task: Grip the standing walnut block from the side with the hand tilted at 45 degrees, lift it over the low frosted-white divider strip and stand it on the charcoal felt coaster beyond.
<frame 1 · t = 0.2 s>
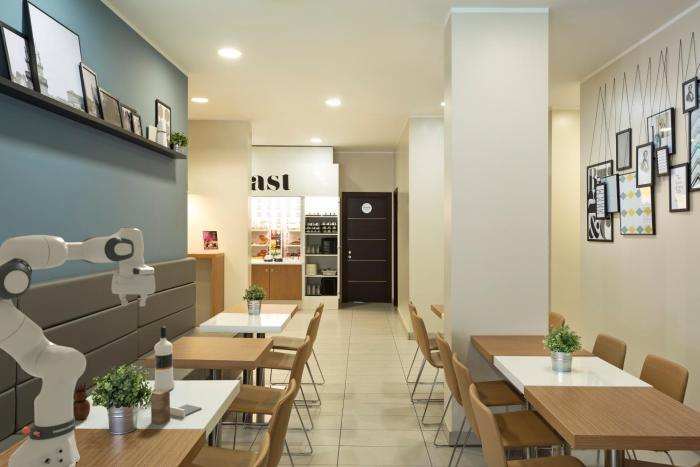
hand: (133, 306, 194), 48 cm above the table, tool pointing down, fingers open, 8 cm apart
divider: (174, 414, 209), on the table
walnut block: (160, 421, 202), on the table
wooden figurine: (81, 419, 206), on the table
coaster: (186, 410, 213), on the table
vodka: (164, 389, 243), on the table
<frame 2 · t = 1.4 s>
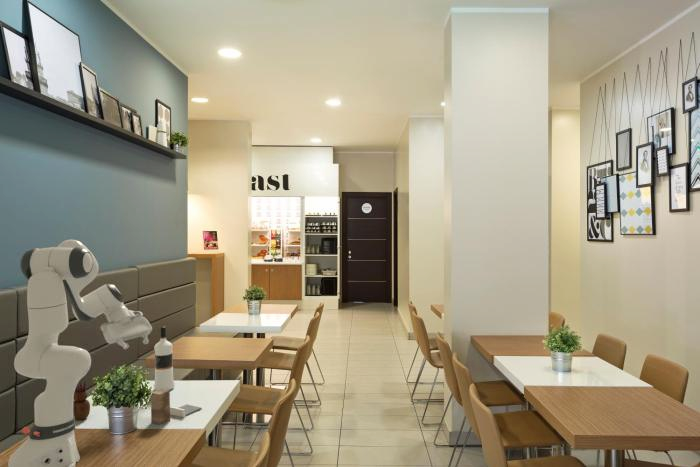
hand: (137, 345, 208), 29 cm above the table, tool tilted 45°, fingers open, 8 cm apart
nothing on the table moved.
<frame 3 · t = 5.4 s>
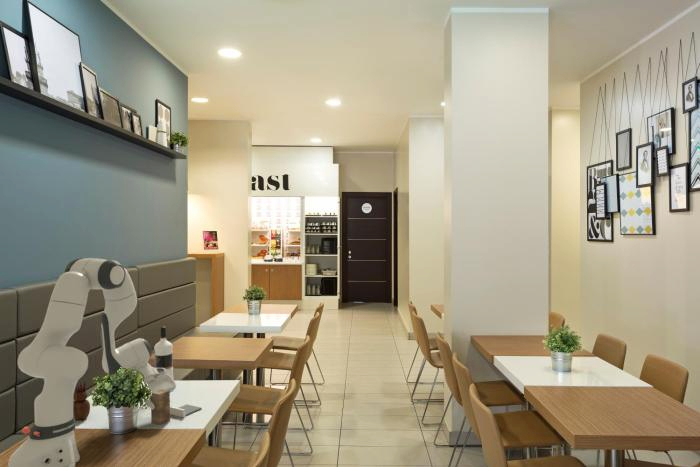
hand: (161, 405, 202), 6 cm above the table, tool tilted 45°, fingers closed on walnut block, 5 cm apart
walnut block: (160, 421, 202), on the table, touching gripper
everything else where it was.
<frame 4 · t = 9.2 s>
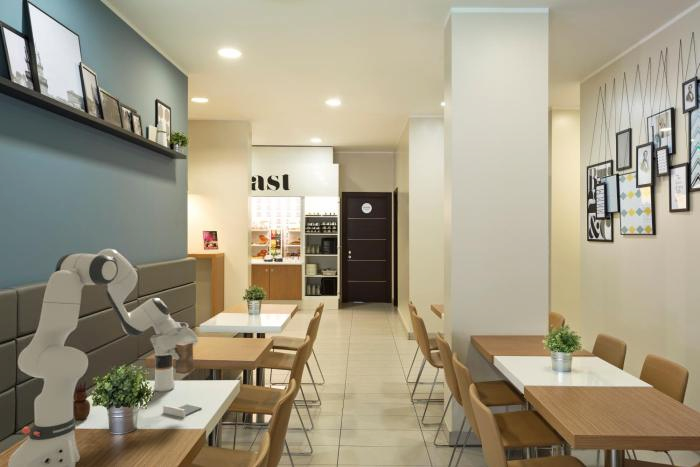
hand: (185, 356, 213), 23 cm above the table, tool tilted 45°, fingers closed on walnut block, 5 cm apart
walnut block: (184, 371, 213), point 17 cm above the table, touching gripper
everything else where it was.
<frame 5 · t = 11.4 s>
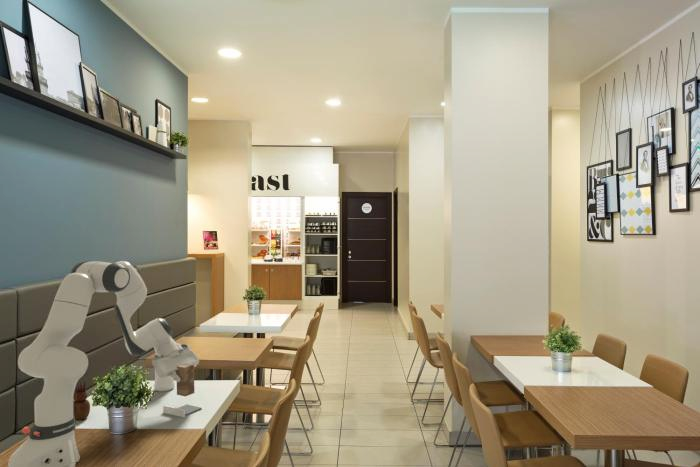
hand: (186, 378, 213), 14 cm above the table, tool tilted 45°, fingers closed on walnut block, 5 cm apart
walnut block: (185, 393, 213), point 7 cm above the table, touching gripper
everything else where it was.
when the fingers open (8 cm above the table, at t = 13.2 s): walnut block stays where it is, resting on coaster.
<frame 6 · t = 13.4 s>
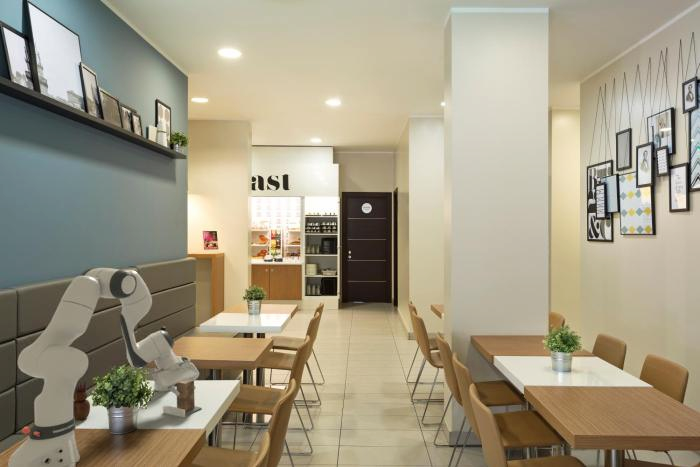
hand: (186, 392, 213), 8 cm above the table, tool tilted 45°, fingers open, 6 cm apart
walnut block: (185, 409, 213), point 1 cm above the table, touching coaster
everything else where it was.
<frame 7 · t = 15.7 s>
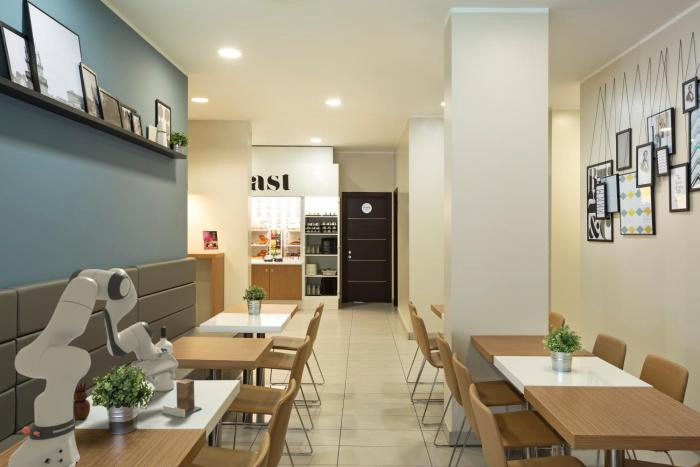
hand: (165, 382, 219), 11 cm above the table, tool tilted 45°, fingers open, 8 cm apart
nothing on the table moved.
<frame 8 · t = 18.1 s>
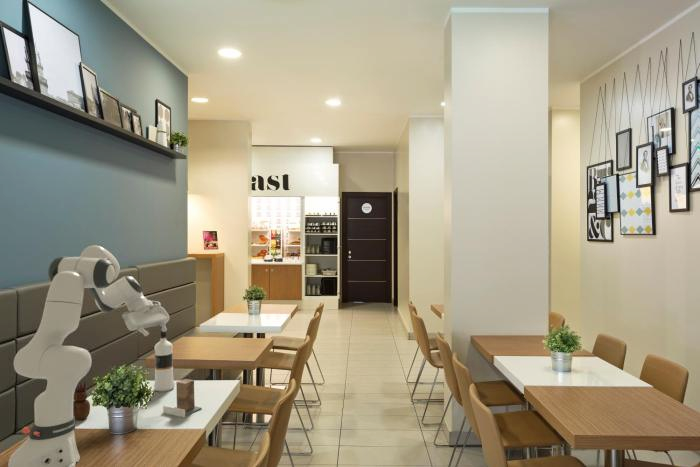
hand: (156, 333, 221), 31 cm above the table, tool tilted 45°, fingers open, 8 cm apart
nothing on the table moved.
at the end: walnut block inside the target area on the coaster (0.1 cm from its centre), point 0.6 cm above the coaster's base; walnut block tilted 0°; the gripper is holding nothing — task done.
